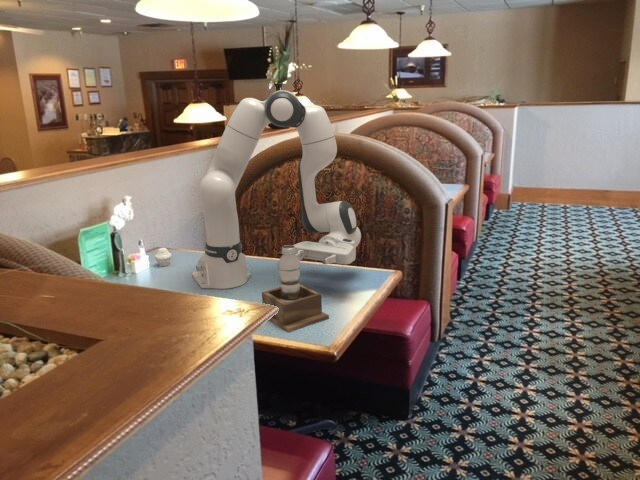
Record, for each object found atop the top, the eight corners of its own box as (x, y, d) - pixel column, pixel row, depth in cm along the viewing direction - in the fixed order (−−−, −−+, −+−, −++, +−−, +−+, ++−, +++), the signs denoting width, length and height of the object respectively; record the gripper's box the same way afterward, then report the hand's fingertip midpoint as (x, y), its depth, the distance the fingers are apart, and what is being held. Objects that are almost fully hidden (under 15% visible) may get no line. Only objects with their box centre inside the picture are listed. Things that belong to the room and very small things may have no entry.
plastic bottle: (301, 316, 156) (298, 250, 150) (278, 316, 156) (274, 250, 151) (304, 307, 162) (301, 243, 156) (282, 307, 162) (278, 243, 157)
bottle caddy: (256, 312, 162) (255, 290, 160) (295, 300, 170) (295, 279, 168) (288, 332, 149) (287, 308, 147) (328, 318, 156) (328, 295, 154)
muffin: (172, 261, 210) (170, 244, 208) (172, 266, 205) (170, 249, 203) (155, 263, 209) (153, 246, 207) (155, 268, 203) (153, 250, 201)
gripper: (303, 234, 181) (281, 245, 169) (359, 242, 171) (340, 254, 160) (304, 252, 183) (282, 264, 171) (359, 260, 173) (340, 274, 162)
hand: (310, 259), depth 165 cm, fingers open, 8 cm apart
